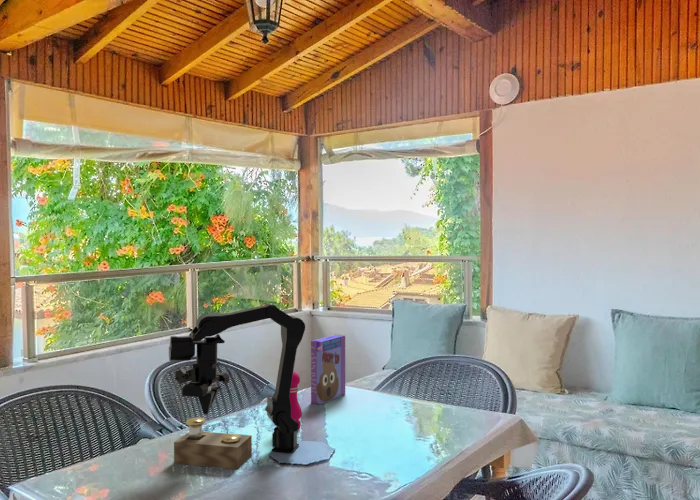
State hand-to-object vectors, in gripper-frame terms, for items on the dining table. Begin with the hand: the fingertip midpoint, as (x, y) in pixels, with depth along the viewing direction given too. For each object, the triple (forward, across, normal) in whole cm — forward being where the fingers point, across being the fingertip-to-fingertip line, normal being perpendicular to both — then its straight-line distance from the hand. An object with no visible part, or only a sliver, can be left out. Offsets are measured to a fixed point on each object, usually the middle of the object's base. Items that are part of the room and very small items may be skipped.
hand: (205, 414), depth 169 cm
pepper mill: (+13, -33, +15) cm, 39 cm away
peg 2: (+13, 0, +8) cm, 15 cm away
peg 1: (+9, 0, -3) cm, 10 cm away
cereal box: (+12, -70, +19) cm, 74 cm away
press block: (+13, 0, +2) cm, 13 cm away
